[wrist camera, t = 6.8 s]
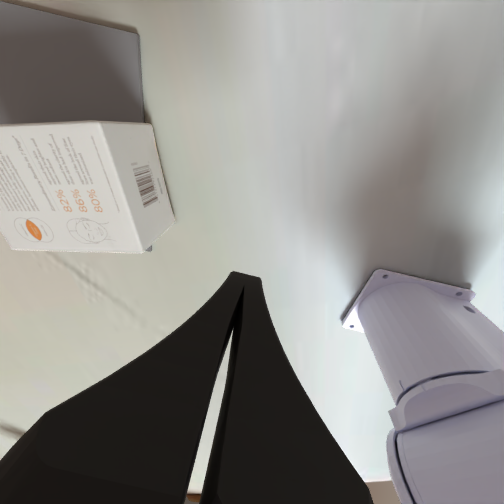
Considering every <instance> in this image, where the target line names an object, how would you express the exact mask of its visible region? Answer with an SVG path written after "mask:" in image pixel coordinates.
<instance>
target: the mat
mask: <svg viewBox="0 0 504 504" xmlns="http://www.w3.org/2000/svg"><path fill="white" fill-rule="evenodd" d="M88 120H95V121H114V122H133V123H144V108H143V91H142V74H141V57H140V40H139V35H137V34H135V33H131V32H127V31H123V30H119V29H114V28H110V27H106V26H102V25H98V24H94V23H90V22H85V21H81V20H77V19H73V18H69V17H65V16H60V15H56V14H52V13H48V12H44V11H40V10H36V9H31V8H27V7H23V6H19V5H15V4H11V3H7V2H2V1H0V124H24V123H47V122H69V121H88ZM145 251H149V252H150V251H152V245H151V246H150V247H149V248H147V249H146V250H145Z"/></svg>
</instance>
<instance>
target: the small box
mask: <svg viewBox="0 0 504 504" xmlns="http://www.w3.org/2000/svg"><path fill="white" fill-rule="evenodd" d="M174 224H175V219H174V215H173V212H172V208H171V205H170V201H169V197H168V193H167V189H166V185H165V181H164V177H163V173H162V169H161V165H160V160H159V156H158V152H157V147H156V143H155V137H154V132H153V127H152V125H151V124H150V123H133V122H114V121H95V120H88V121H69V122H47V123H24V124H0V232H1V233H2V235H3V236H4V238H5V240H6V241H7V243H8V245H9V246H10V248H11V249H12V250H33V251H68V252H107V253H143V252H144V251H145V250H146V249H147V248H149V247H150V246H151V245H152V244H153V243H154V242H155V241H156V240H157V239H158V238H159V237H160V236H161V235H163V234H164V233H165V232H166V231H167V230H168V229H169V228H170V227H171V226H172V225H174Z"/></svg>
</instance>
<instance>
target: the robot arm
mask: <svg viewBox="0 0 504 504" xmlns="http://www.w3.org/2000/svg"><path fill="white" fill-rule="evenodd" d="M384 275H386V276H384ZM383 276H384V277H383ZM457 292H458V293H457ZM475 295H476V294H475V293H474V292H473V291H472V290H469V289H464V288H460V287H456V286H452V285H447V284H443V283H439V282H434V281H430V280H426V279H422V278H417V277H413V276H409V275H404V274H400V273H396V272H392V271H387V270H383V269H378V270H375V271H374V273H373V274H372V276H371V277H370V279H369V280H368V282H367V284H366V285H365V287H364V288H363V290H362V291H361V293H360V294H359V296H358V298H357V299H356V301H355V302H354V304H353V305H352V307H351V309H350V310H349V312H348V313H347V315H346V316H345V318H344V320H343V321H342V326H343V327H344V328H347V329H352V330H356V331H361V332H365V335H366V337H367V339H368V342H369V344H370V346H371V349H372V351H373V353H374V356H375V358H376V360H377V363H378V365H379V367H380V370H381V372H382V374H383V377H384V379H385V381H386V384H387V386H388V388H389V391H390V393H391V395H392V398H393V400H394V402H395V405H396V407H395V408H393V409H392V410H389V411H388V412H389V415H390V417H391V420H392V423H393V425H394V428H393V429H392V430H391V431H390V432H389V433H388V435H387V441H386V448H387V460H388V466H389V471H390V475H391V478H392V482H393V485H394V488H395V490H396V493H397V495H398V498H399V500H400V503H401V504H504V332H503V331H502V330H500V329H499V328H498V327H497V326H496V325H495V324H494V323H493V322H491V321H490V320H489V319H488V318H487V317H486V316H485V315H484V314H482V313H481V312H480V311H479V310H478V309H477V308H476V307H475V306H474V305H472V304H471V303H470V301H471V300H472V299H473V298H474V297H475ZM232 330H233V335H232V342H231V349H230V356H229V364H228V371H227V378H226V384H225V390H224V394H223V399H222V403H221V408H220V413H219V417H218V422H217V426H216V431H215V435H214V440H213V444H212V449H211V453H210V458H209V462H208V467H207V471H206V476H205V480H204V485H203V489H202V494H201V498H200V503H199V504H374V503H373V500H372V497H371V494H370V491H369V489H368V487H367V485H366V484H365V482H364V481H363V480H362V478H361V477H360V475H359V474H358V473H357V471H356V470H355V468H354V467H353V465H352V464H351V463H350V461H349V460H348V458H347V457H346V455H345V454H344V452H343V451H342V449H341V448H340V446H339V445H338V443H337V442H336V440H335V439H334V438H333V436H332V434H331V433H330V431H329V430H328V428H327V427H326V425H325V423H324V422H323V420H322V419H321V417H320V416H319V414H318V412H317V411H316V409H315V407H314V406H313V404H312V402H311V400H310V399H309V397H308V395H307V394H306V392H305V390H304V388H303V387H302V385H301V383H300V381H299V380H298V378H297V376H296V374H295V372H294V370H293V368H292V366H291V364H290V362H289V360H288V358H287V356H286V354H285V352H284V350H283V348H282V345H281V343H280V341H279V338H278V336H277V333H276V331H275V328H274V326H273V323H272V320H271V317H270V314H269V311H268V308H267V304H266V301H265V297H264V292H263V288H262V280H261V279H260V278H259V277H255V276H251V275H247V274H243V273H239V272H235V271H233V272H231V273H230V274H229V276H228V278H227V279H226V280H225V282H224V283H223V284H222V285H221V287H220V288H219V289H218V290H217V291H216V292H215V294H214V295H213V296H212V297H211V298H210V299H209V300H208V301H207V302H206V303H205V304H204V305H203V306H202V307H201V308H200V309H199V310H198V311H197V312H196V313H195V314H194V315H193V316H191V317H190V318H189V319H188V320H187V321H186V322H185V323H183V324H182V325H181V326H180V327H178V328H177V329H176V330H175V331H174V332H172V333H171V334H170V335H168V336H167V337H166V338H164V339H163V340H162V341H160V342H159V343H158V344H156V345H155V346H153V347H152V348H151V349H149V350H148V351H146V352H145V353H143V354H142V355H140V356H139V357H137V358H136V359H134V360H133V361H131V362H130V363H128V364H127V365H125V366H123V367H122V368H120V369H119V370H117V371H116V372H114V373H113V374H111V375H109V376H108V377H106V378H104V379H103V380H101V381H99V382H98V383H96V384H94V385H92V386H91V387H89V388H87V389H85V390H84V391H82V392H80V393H78V394H77V395H75V396H73V397H71V398H70V399H68V400H66V401H65V402H63V403H61V404H59V405H57V406H56V407H54V408H52V409H50V410H49V411H47V412H46V413H44V415H43V416H42V417H41V418H40V419H39V420H38V421H37V422H36V423H35V424H34V425H33V426H32V427H31V428H30V429H29V430H28V431H27V432H26V433H25V434H24V435H23V436H22V437H21V438H20V439H19V440H18V441H17V442H16V443H15V444H14V445H13V446H12V448H11V449H10V450H9V451H8V452H7V453H6V455H5V456H4V457H3V458H2V459H1V460H0V504H184V502H185V498H186V494H187V490H188V486H189V482H190V478H191V474H192V470H193V467H194V463H195V459H196V455H197V451H198V447H199V443H200V439H201V435H202V431H203V427H204V423H205V419H206V415H207V411H208V407H209V403H210V399H211V396H212V392H213V388H214V384H215V381H216V378H217V374H218V371H219V368H220V365H221V363H222V360H223V357H224V354H225V351H226V348H227V345H228V342H229V339H230V336H231V333H232Z"/></svg>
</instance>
